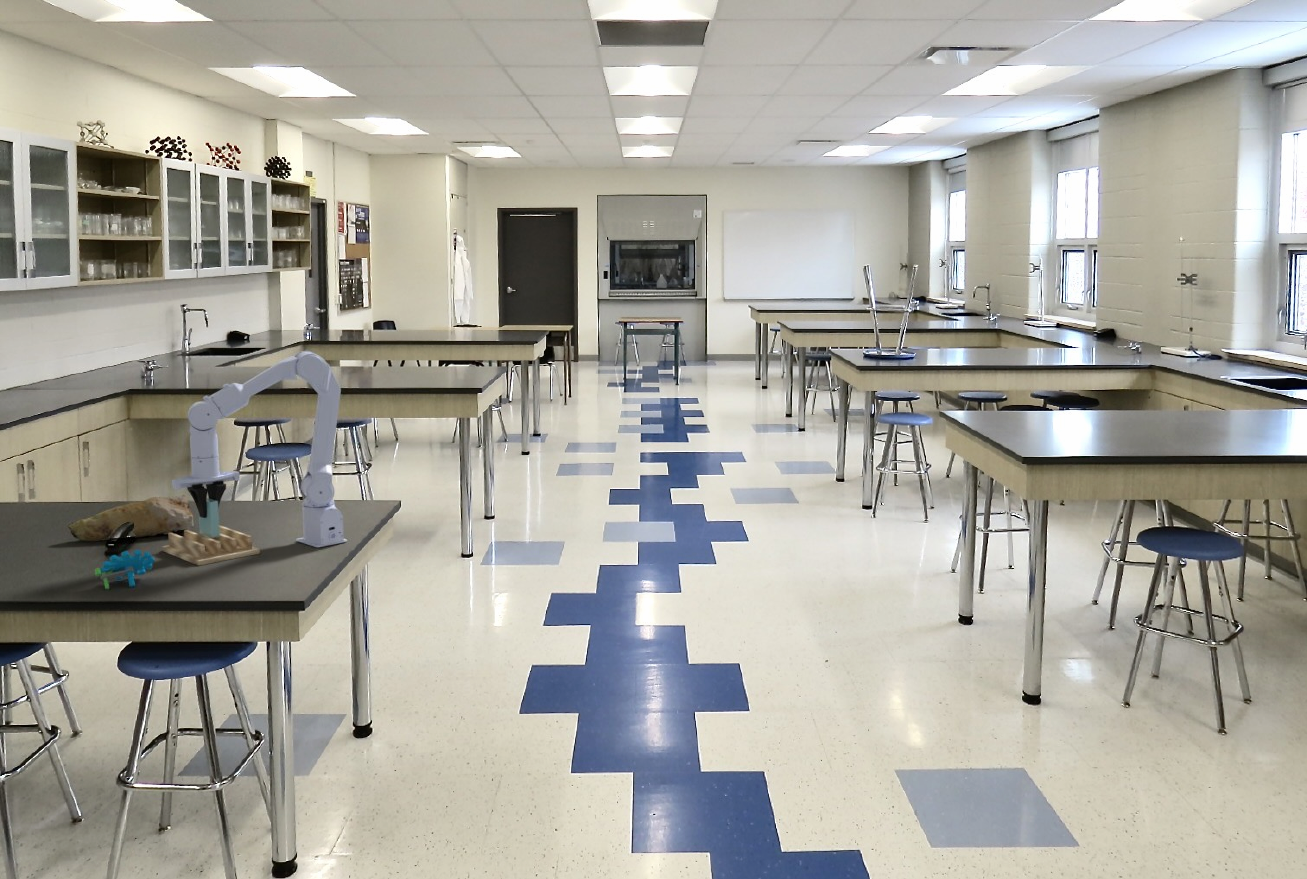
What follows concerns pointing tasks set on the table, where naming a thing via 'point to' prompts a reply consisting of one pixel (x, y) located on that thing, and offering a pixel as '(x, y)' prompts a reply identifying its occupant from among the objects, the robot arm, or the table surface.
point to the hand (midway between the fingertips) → (208, 516)
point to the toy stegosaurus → (125, 567)
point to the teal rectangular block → (210, 520)
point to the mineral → (137, 519)
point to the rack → (210, 546)
